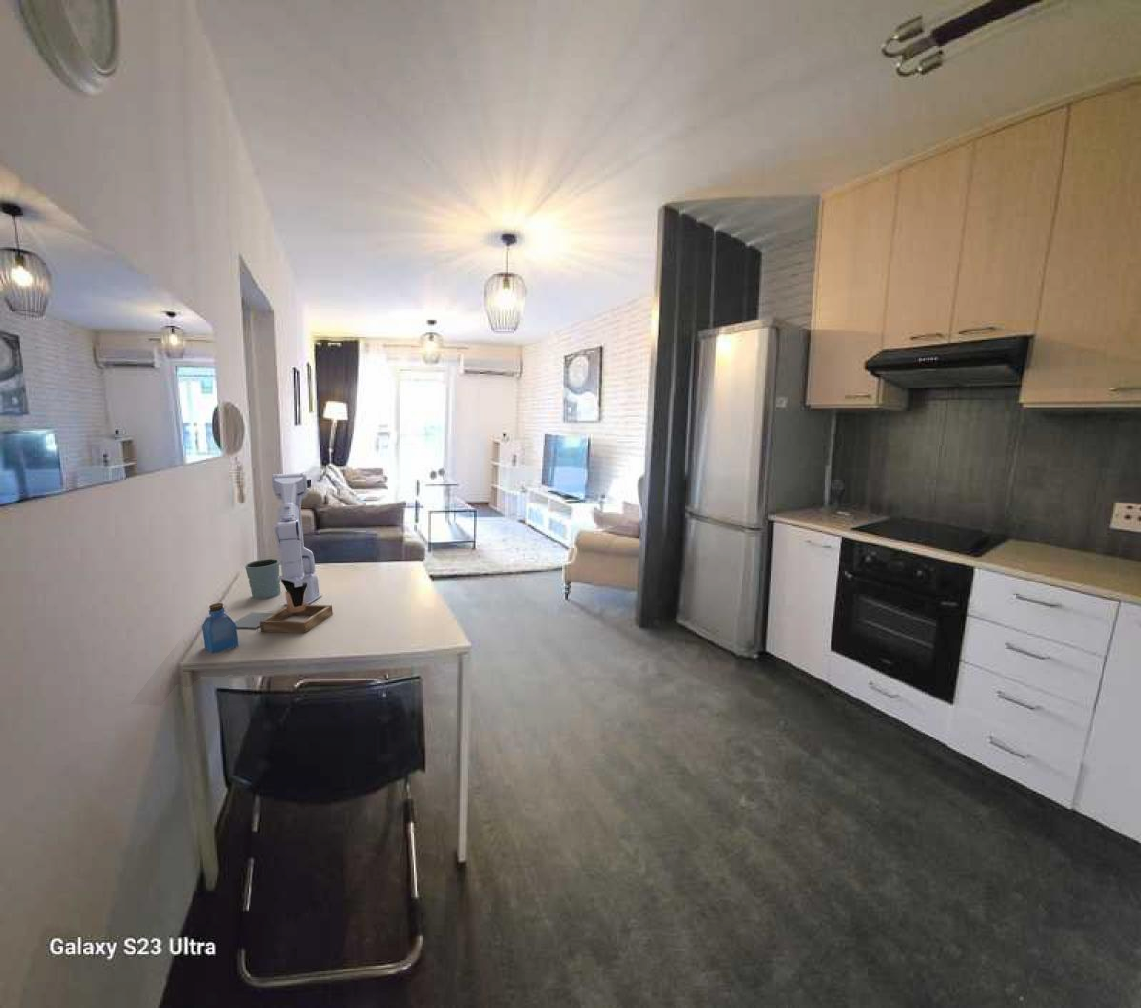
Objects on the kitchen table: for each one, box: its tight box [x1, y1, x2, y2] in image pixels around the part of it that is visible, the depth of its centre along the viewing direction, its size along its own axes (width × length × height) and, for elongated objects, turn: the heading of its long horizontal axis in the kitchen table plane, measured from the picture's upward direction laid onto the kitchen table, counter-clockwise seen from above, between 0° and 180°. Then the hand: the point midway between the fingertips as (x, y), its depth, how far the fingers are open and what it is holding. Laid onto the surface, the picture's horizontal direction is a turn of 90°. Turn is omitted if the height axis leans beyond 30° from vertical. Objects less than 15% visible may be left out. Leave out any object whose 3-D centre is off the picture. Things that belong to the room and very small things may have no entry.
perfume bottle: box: [201, 602, 239, 654], centre depth 136 cm, size 6×6×12 cm
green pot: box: [244, 558, 281, 600], centre depth 176 cm, size 10×10×12 cm
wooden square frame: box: [259, 604, 334, 634], centre depth 153 cm, size 14×14×3 cm
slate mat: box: [233, 611, 275, 630], centre depth 154 cm, size 11×10×1 cm
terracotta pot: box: [285, 590, 306, 613], centre depth 152 cm, size 5×5×6 cm
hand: (296, 603), depth 152 cm, fingers closed on terracotta pot, 5 cm apart
